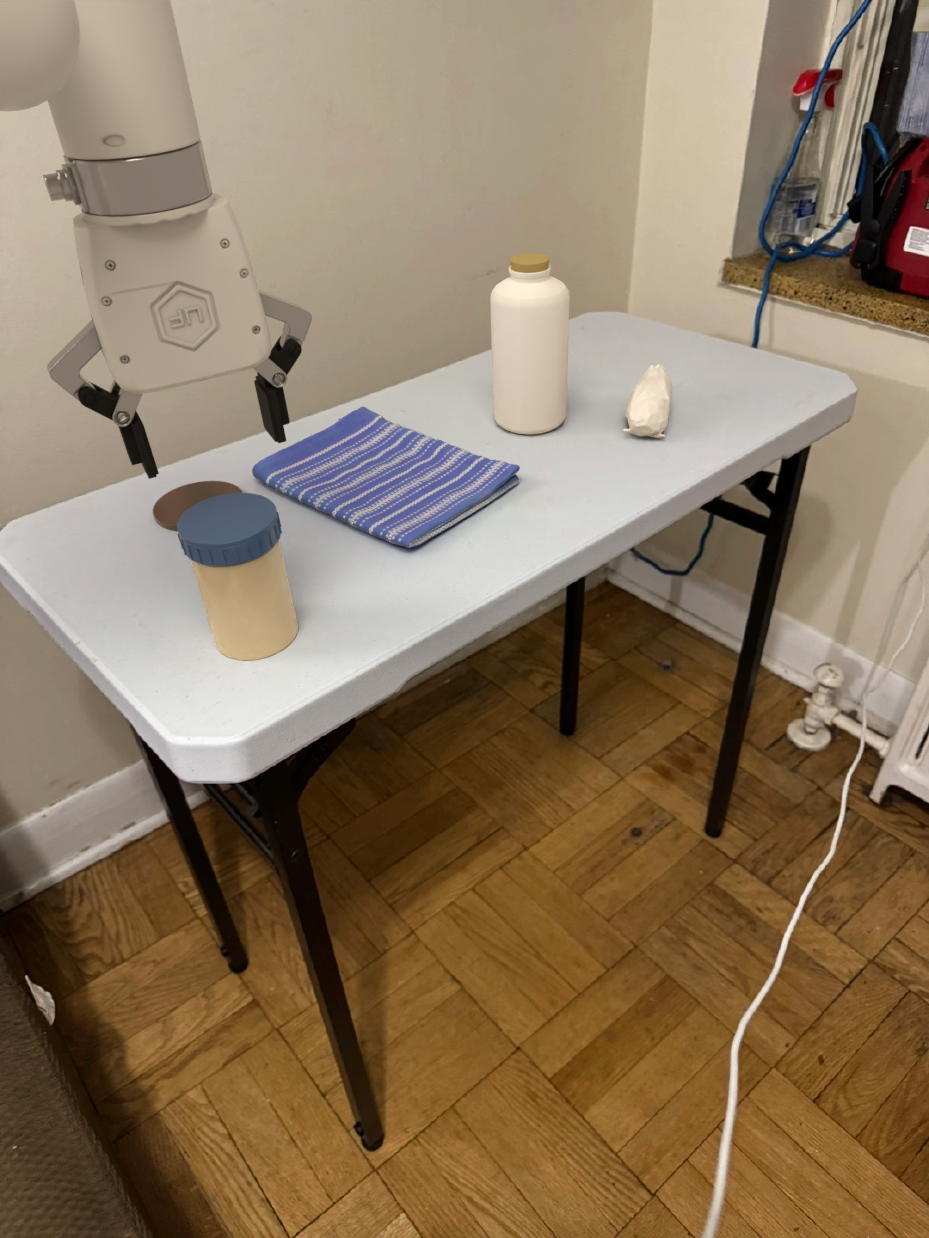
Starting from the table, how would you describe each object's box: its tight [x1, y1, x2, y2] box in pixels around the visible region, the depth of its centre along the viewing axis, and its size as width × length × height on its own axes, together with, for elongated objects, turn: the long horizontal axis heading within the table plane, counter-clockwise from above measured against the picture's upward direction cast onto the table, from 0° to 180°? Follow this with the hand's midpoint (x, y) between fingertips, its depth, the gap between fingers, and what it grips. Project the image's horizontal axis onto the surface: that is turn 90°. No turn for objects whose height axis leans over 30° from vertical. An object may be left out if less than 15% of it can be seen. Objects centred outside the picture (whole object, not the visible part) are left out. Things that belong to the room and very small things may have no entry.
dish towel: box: [251, 406, 521, 549], centre depth 89 cm, size 17×24×3 cm
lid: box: [177, 492, 283, 566], centre depth 65 cm, size 7×7×2 cm
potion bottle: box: [489, 252, 571, 435], centre depth 94 cm, size 8×8×18 cm
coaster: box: [152, 480, 244, 532], centre depth 87 cm, size 9×9×1 cm
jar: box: [189, 539, 299, 661], centre depth 68 cm, size 7×7×11 cm
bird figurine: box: [622, 362, 673, 439], centre depth 96 cm, size 5×7×10 cm
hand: (214, 451), depth 61 cm, fingers open, 8 cm apart
